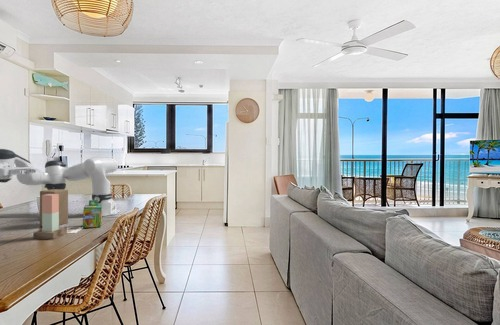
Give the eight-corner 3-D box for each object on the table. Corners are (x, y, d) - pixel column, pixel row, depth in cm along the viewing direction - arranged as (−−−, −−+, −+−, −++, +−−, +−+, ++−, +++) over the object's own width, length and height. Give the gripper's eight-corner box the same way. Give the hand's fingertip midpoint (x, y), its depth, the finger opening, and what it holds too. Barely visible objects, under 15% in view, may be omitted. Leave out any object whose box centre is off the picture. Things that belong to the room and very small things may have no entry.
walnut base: (47, 233, 156) (47, 227, 155) (66, 233, 155) (66, 228, 155) (33, 238, 146) (33, 232, 145) (53, 239, 145) (53, 233, 145)
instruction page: (67, 227, 168) (67, 227, 168) (84, 227, 169) (84, 226, 169) (57, 233, 156) (57, 232, 156) (75, 233, 157) (75, 232, 157)
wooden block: (54, 226, 169) (54, 191, 168) (39, 225, 171) (39, 190, 170) (68, 223, 179) (68, 189, 178) (54, 221, 181) (54, 189, 180)
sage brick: (49, 228, 153) (49, 211, 153) (58, 229, 153) (58, 211, 152) (42, 231, 148) (42, 213, 148) (52, 231, 148) (52, 213, 147)
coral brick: (49, 211, 153) (49, 193, 152) (58, 211, 152) (58, 194, 152) (42, 213, 148) (41, 195, 147) (51, 213, 147) (51, 195, 147)
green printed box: (82, 228, 166) (83, 201, 166) (84, 224, 174) (85, 199, 174) (101, 227, 170) (101, 201, 169) (101, 223, 178) (102, 199, 178)
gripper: (18, 175, 167) (42, 176, 166) (-15, 178, 146) (12, 179, 146) (18, 164, 167) (42, 164, 166) (-15, 165, 146) (12, 166, 146)
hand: (28, 171), depth 156 cm, fingers open, 8 cm apart
